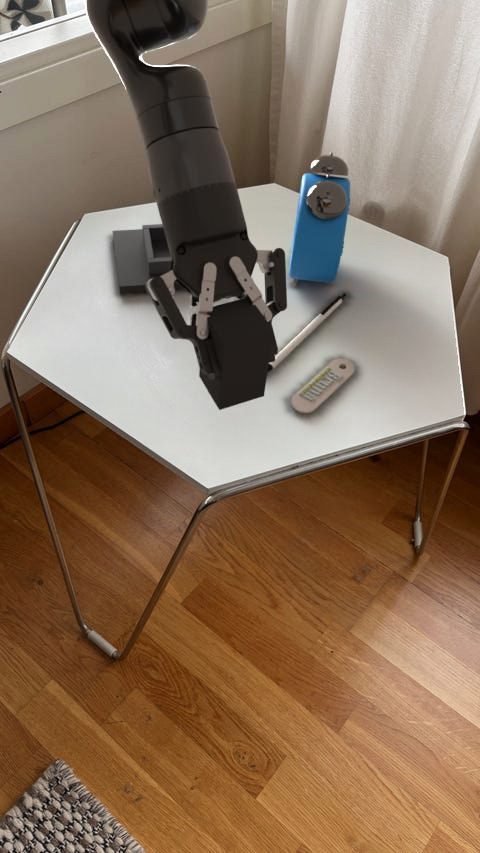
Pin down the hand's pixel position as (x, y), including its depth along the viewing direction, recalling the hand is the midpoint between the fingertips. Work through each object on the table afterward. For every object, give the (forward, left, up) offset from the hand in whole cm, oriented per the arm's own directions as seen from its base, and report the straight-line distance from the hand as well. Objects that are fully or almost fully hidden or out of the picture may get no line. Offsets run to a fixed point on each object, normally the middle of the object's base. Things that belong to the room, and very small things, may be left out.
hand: (242, 369), depth 68 cm
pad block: (-1, +2, -4) cm, 5 cm away
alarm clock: (+16, +28, -11) cm, 34 cm away
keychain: (+12, +7, -11) cm, 18 cm away
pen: (+12, +16, -12) cm, 23 cm away
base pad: (-2, +32, -11) cm, 34 cm away
